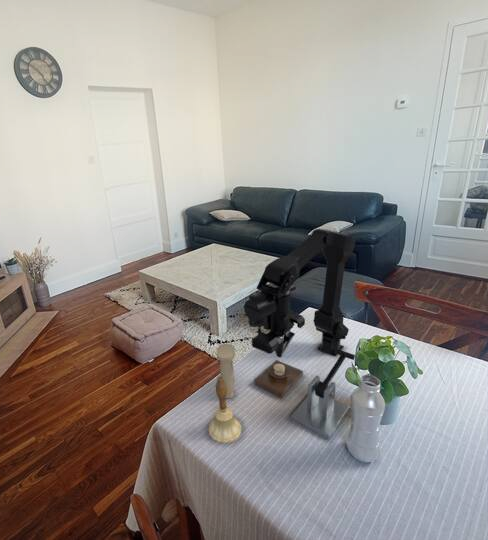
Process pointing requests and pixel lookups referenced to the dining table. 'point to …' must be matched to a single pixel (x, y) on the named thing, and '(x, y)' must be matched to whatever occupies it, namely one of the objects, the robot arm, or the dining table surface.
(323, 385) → the lever
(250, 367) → the dining table surface
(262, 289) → the robot arm
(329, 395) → the bracket
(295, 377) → the button block
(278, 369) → the button
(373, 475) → the dining table surface
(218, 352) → the handle
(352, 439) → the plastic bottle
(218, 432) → the hand bell
